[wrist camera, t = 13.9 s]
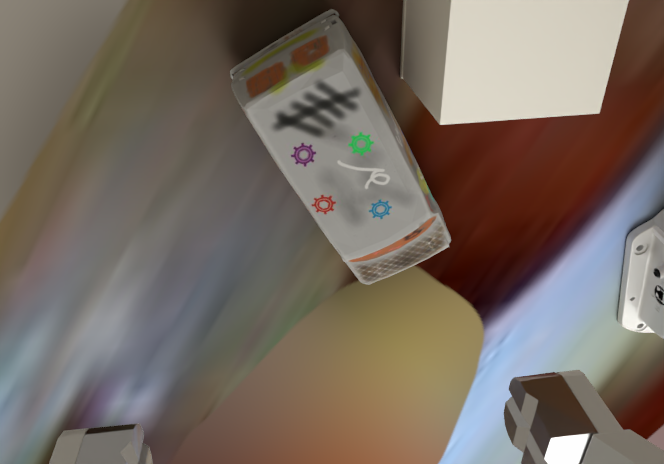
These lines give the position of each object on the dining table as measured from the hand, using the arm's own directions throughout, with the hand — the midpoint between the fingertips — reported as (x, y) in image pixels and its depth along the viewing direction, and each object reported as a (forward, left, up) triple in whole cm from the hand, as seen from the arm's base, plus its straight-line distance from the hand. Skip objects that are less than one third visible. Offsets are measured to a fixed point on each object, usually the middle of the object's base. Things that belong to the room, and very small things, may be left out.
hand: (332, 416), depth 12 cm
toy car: (-12, -6, -40) cm, 42 cm away
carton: (+2, -17, -39) cm, 43 cm away
